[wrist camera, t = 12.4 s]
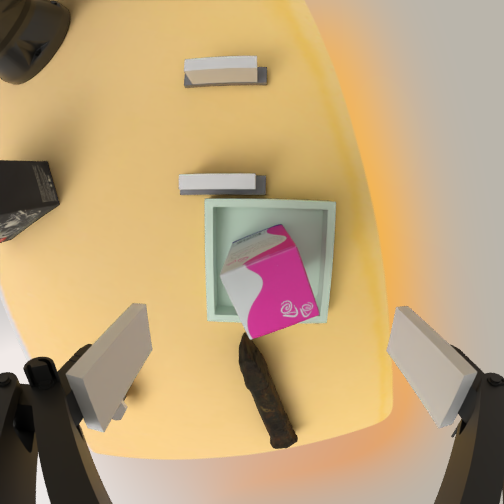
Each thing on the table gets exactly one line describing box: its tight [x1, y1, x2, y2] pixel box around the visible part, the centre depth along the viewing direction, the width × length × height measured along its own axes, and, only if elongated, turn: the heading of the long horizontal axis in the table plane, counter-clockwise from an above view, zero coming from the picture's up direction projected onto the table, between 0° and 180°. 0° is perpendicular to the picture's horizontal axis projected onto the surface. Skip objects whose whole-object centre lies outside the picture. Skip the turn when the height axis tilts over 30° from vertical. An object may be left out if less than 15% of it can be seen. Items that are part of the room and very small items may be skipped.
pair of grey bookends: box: [179, 56, 267, 195], centre depth 27 cm, size 14×9×5 cm, turn 179°
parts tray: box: [205, 198, 336, 323], centre depth 30 cm, size 13×13×3 cm
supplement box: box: [220, 224, 320, 340], centre depth 26 cm, size 6×6×12 cm
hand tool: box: [239, 333, 298, 449], centre depth 34 cm, size 19×4×5 cm, turn 15°
